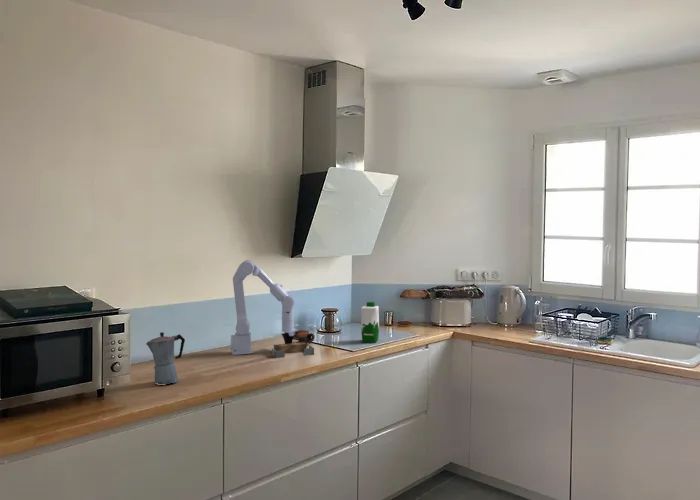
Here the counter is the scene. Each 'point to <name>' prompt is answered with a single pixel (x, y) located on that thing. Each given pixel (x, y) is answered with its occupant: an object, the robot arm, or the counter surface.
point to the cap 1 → (278, 353)
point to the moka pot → (165, 358)
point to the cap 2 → (309, 350)
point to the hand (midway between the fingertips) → (288, 348)
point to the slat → (291, 347)
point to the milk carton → (370, 323)
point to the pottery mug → (304, 337)
